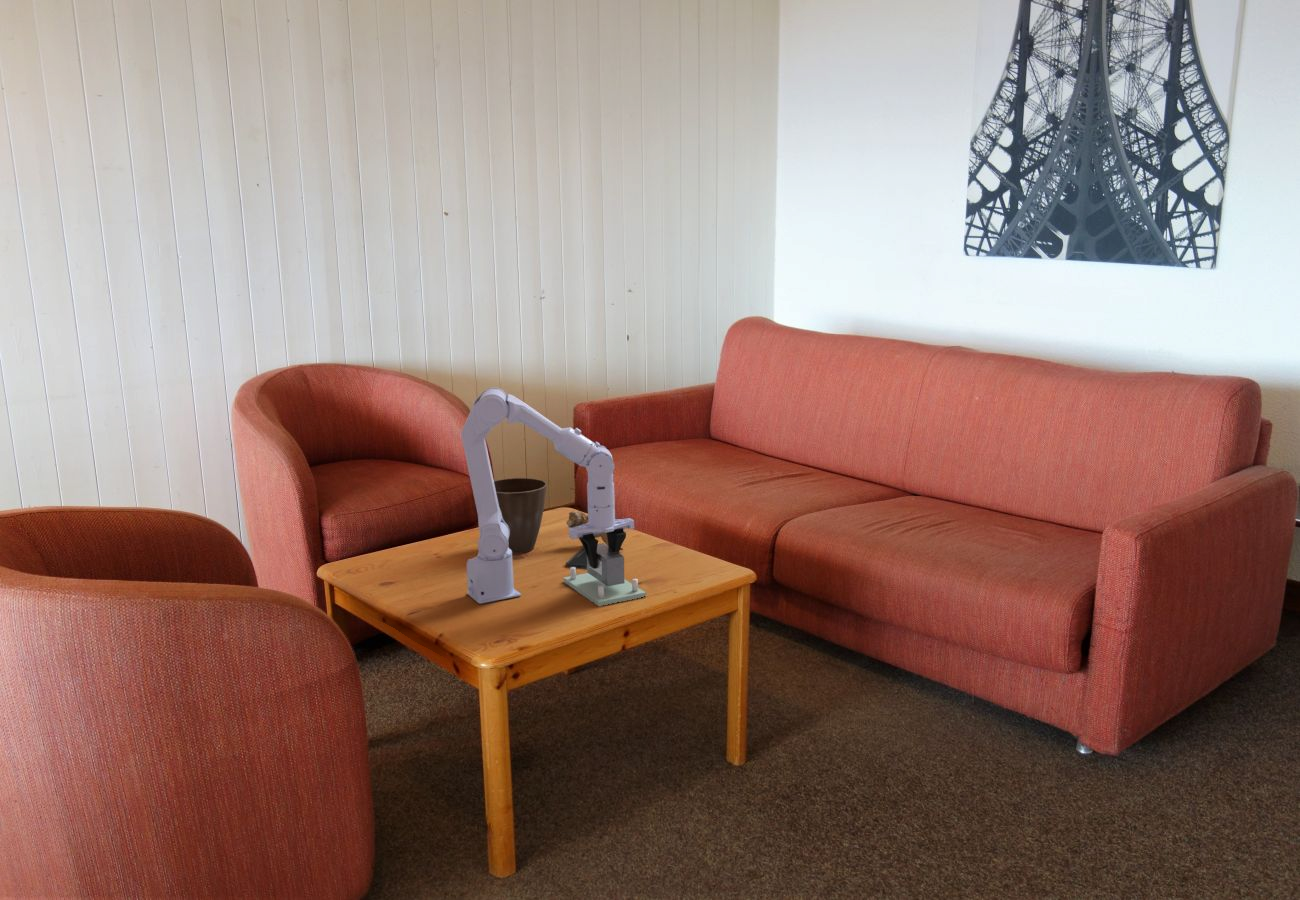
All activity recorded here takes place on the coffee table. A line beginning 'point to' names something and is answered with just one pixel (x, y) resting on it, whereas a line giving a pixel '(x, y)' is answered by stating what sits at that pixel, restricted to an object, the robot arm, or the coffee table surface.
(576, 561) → the phone
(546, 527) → the coffee table surface
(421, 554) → the coffee table surface
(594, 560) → the robot arm
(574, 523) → the lion figurine
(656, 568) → the coffee table surface
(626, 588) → the pin tray
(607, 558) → the block
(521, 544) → the plant pot
